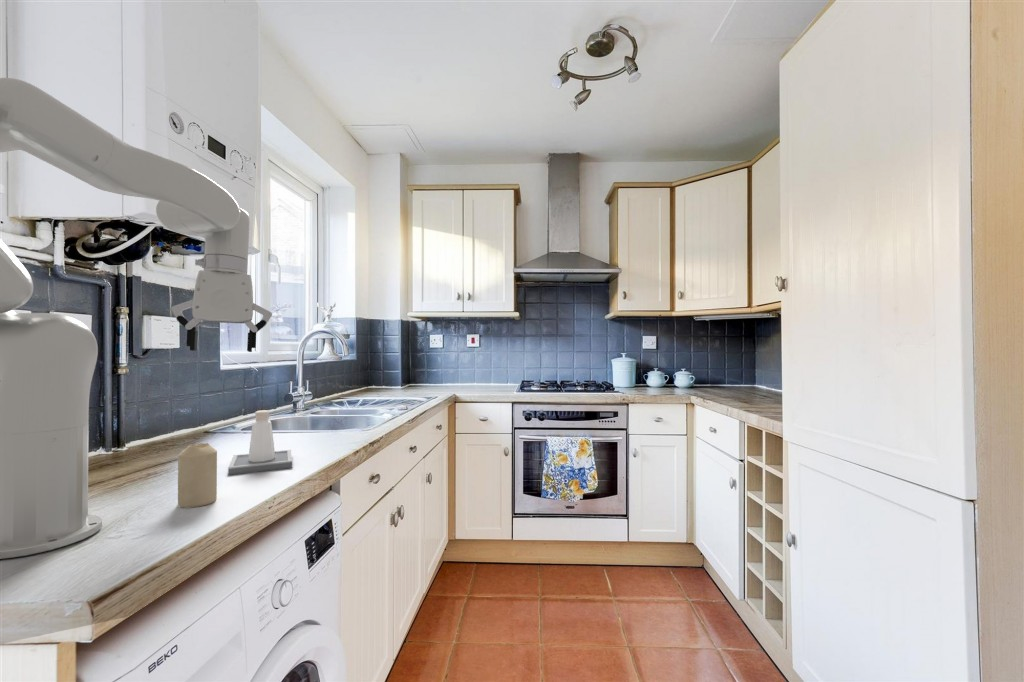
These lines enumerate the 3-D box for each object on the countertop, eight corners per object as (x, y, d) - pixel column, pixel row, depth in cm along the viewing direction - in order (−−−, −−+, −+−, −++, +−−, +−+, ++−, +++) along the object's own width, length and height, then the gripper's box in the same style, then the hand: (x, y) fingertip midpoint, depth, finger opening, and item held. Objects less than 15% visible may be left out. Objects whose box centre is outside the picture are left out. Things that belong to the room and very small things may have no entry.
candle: (196, 509, 74) (197, 448, 75) (169, 506, 76) (169, 447, 76) (224, 498, 80) (224, 441, 80) (198, 496, 81) (198, 440, 81)
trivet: (228, 474, 94) (228, 467, 94) (233, 461, 105) (233, 455, 105) (292, 467, 100) (292, 460, 100) (290, 455, 110) (290, 449, 110)
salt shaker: (242, 461, 100) (242, 412, 100) (259, 456, 105) (259, 408, 105) (264, 463, 99) (264, 412, 99) (280, 456, 104) (280, 409, 105)
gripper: (169, 258, 85) (164, 349, 84) (273, 268, 93) (270, 351, 92) (177, 266, 91) (173, 350, 90) (274, 275, 99) (270, 352, 98)
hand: (222, 351), depth 91 cm, fingers open, 9 cm apart
